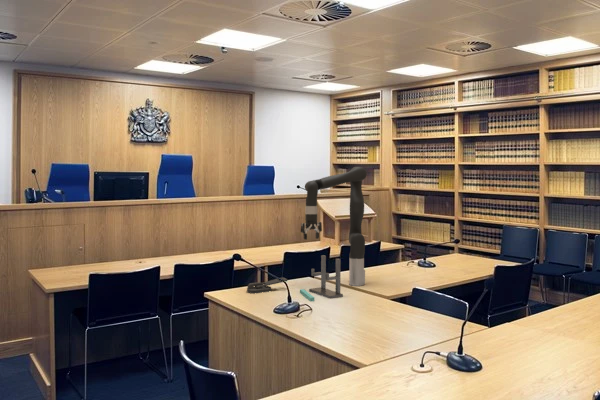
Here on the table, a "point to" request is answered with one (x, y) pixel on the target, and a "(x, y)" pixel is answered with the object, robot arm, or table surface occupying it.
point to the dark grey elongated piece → (262, 286)
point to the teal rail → (307, 295)
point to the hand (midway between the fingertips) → (311, 239)
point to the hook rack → (325, 276)
